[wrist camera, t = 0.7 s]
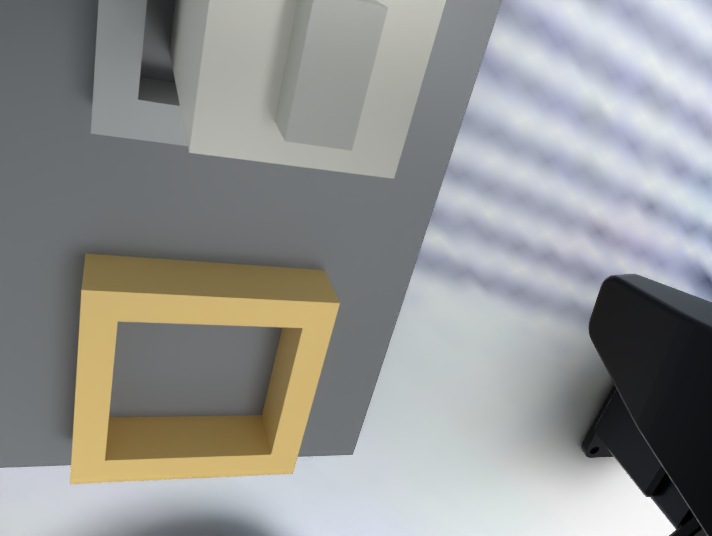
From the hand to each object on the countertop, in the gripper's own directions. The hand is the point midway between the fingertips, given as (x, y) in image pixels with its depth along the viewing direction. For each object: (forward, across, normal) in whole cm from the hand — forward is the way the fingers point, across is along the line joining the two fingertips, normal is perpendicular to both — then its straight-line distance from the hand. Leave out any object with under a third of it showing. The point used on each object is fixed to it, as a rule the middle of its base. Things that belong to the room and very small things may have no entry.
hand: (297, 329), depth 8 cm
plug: (+12, -1, -2) cm, 12 cm away
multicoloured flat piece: (+13, 0, +4) cm, 13 cm away
